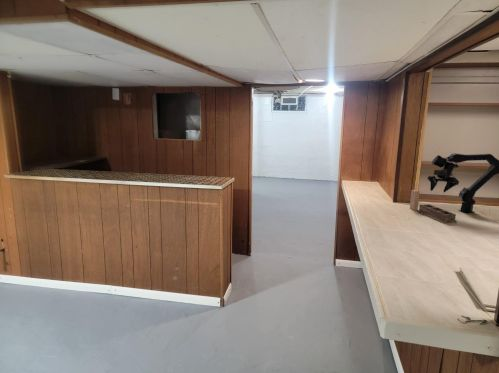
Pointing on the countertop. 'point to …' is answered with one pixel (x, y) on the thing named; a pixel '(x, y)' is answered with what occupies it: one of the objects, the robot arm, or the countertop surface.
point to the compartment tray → (437, 213)
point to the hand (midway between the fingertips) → (437, 191)
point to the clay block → (414, 199)
